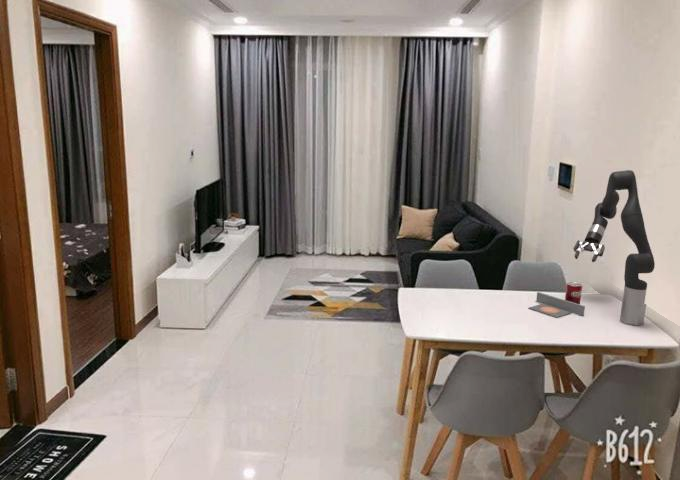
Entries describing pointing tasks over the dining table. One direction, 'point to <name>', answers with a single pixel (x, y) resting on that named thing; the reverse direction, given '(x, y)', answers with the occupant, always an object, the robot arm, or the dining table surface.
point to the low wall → (560, 303)
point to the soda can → (573, 292)
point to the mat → (550, 310)
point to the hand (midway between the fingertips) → (584, 259)
